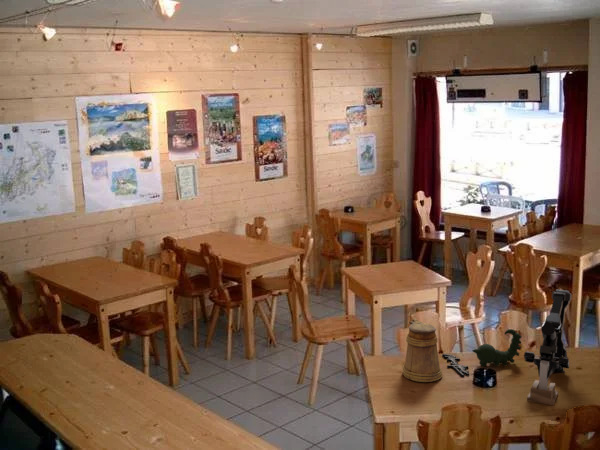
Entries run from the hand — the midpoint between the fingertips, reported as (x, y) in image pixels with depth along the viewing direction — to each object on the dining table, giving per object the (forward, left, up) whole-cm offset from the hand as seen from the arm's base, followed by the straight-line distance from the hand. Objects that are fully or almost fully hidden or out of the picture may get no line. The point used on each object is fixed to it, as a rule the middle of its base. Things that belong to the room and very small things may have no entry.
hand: (543, 377), depth 314 cm
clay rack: (-1, -1, -10) cm, 10 cm away
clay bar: (-1, -1, -7) cm, 7 cm away
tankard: (+44, -36, -10) cm, 58 cm away
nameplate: (+25, -42, -10) cm, 49 cm away
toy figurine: (+5, -39, -10) cm, 41 cm away
